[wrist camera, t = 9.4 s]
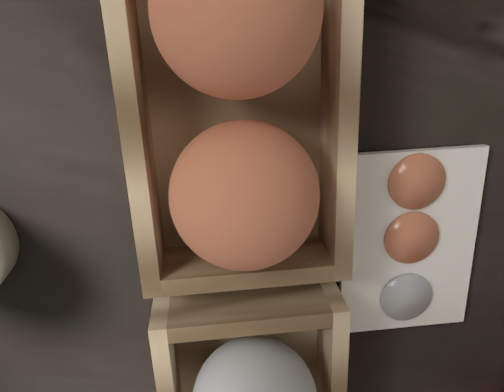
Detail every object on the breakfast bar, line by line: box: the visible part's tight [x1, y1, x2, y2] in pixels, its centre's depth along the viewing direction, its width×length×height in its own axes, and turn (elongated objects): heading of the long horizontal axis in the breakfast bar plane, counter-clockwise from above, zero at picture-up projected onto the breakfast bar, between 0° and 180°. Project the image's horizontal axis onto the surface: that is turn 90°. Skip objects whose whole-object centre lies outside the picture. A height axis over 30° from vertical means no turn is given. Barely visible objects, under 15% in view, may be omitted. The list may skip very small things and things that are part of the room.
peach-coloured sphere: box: [148, 0, 324, 100], centre depth 16 cm, size 6×6×6 cm
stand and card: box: [0, 144, 490, 333], centre depth 22 cm, size 10×28×4 cm, turn 92°
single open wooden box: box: [148, 282, 351, 392], centre depth 24 cm, size 9×9×3 cm
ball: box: [168, 120, 320, 271], centre depth 19 cm, size 6×6×6 cm
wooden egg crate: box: [100, 0, 364, 299], centre depth 19 cm, size 16×9×3 cm, turn 2°
